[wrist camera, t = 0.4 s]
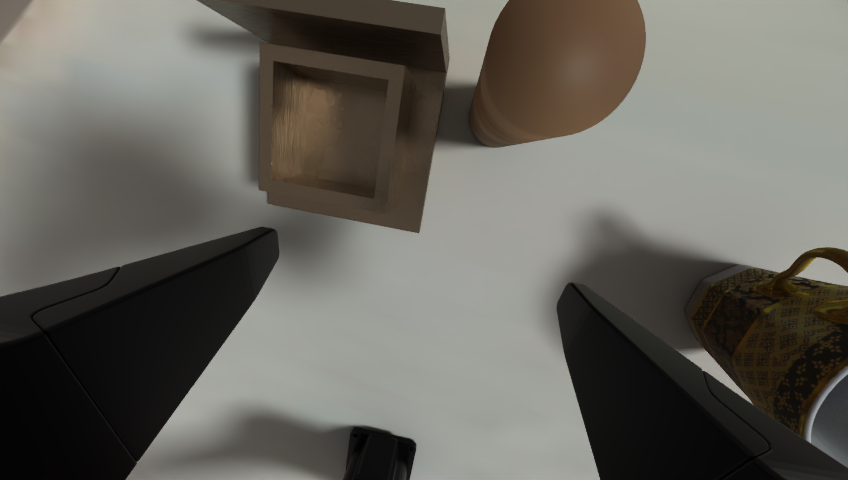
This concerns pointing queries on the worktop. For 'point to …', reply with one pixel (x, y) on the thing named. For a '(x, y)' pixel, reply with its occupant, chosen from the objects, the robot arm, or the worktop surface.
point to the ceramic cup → (782, 344)
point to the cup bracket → (347, 103)
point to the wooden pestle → (556, 68)
